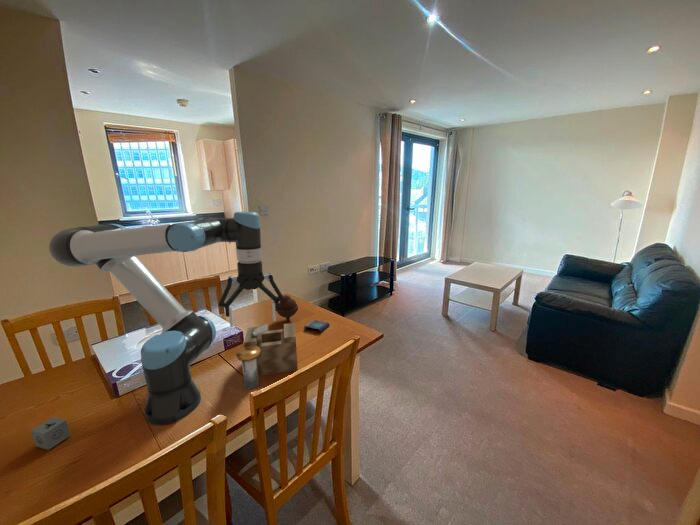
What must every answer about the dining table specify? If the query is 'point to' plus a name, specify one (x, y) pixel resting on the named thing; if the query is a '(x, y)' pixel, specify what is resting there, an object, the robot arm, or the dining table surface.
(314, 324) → the blue flat box
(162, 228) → the robot arm
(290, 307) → the ice cream bowl
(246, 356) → the pin
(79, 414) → the dining table surface
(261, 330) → the clip tab
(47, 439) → the grey toy block
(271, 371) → the hitch block
